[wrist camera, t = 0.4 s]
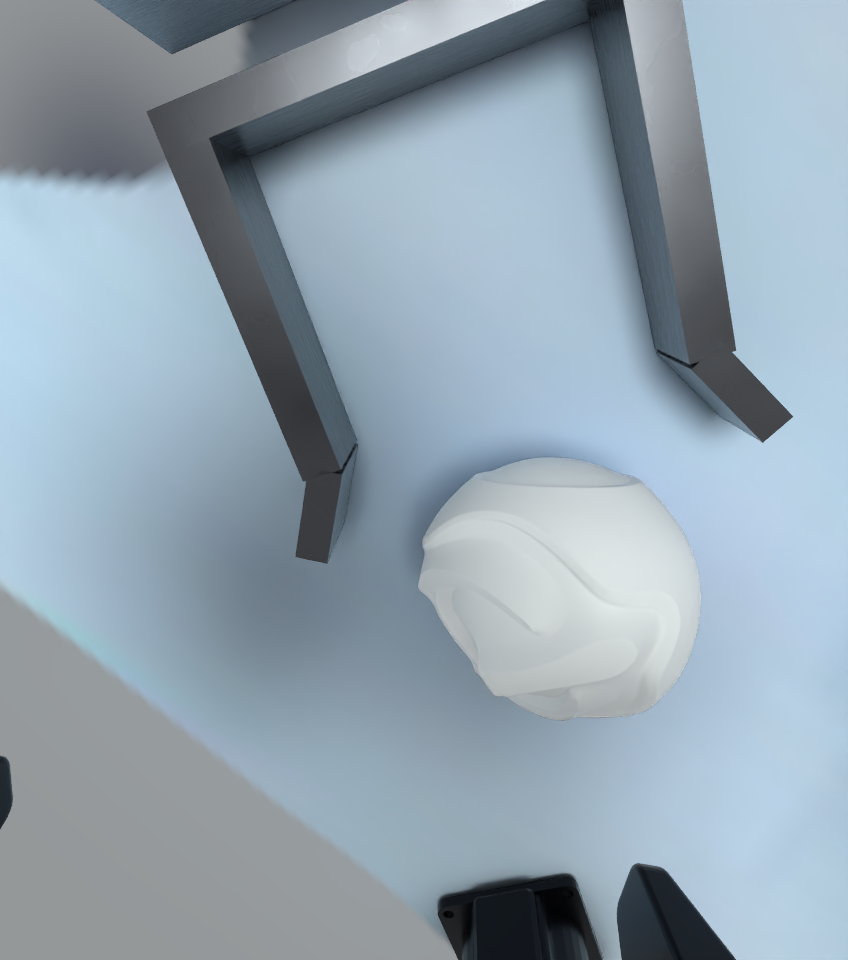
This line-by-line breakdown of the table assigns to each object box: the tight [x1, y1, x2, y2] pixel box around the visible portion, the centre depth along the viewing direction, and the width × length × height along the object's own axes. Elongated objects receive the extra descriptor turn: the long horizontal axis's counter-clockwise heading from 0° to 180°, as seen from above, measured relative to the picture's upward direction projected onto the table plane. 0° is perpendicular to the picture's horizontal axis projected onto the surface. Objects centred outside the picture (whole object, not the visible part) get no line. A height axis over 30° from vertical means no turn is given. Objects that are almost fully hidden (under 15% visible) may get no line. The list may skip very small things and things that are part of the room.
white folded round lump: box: [418, 457, 701, 721], centre depth 18 cm, size 8×8×8 cm
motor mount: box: [95, 0, 793, 563], centre depth 13 cm, size 23×15×9 cm, turn 18°
